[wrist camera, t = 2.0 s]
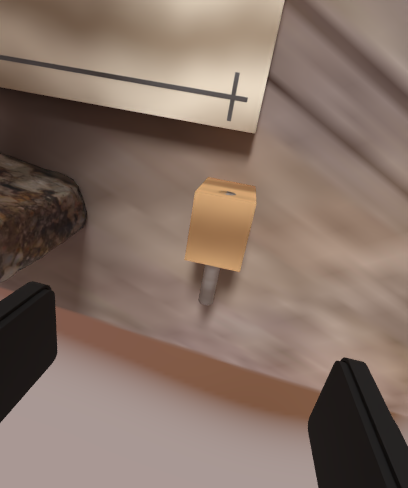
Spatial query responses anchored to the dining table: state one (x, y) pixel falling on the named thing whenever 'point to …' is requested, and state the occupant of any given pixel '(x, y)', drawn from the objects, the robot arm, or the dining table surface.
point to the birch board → (144, 55)
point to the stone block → (34, 213)
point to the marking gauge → (219, 230)
